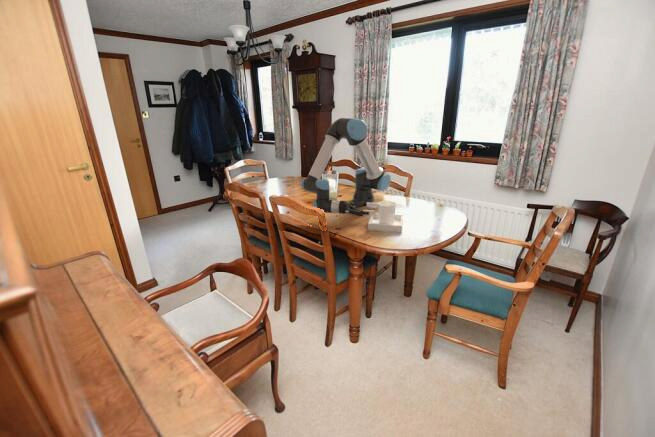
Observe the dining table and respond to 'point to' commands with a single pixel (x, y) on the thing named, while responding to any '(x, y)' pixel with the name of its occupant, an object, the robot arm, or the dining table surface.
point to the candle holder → (386, 212)
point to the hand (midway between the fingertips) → (376, 209)
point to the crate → (396, 226)
